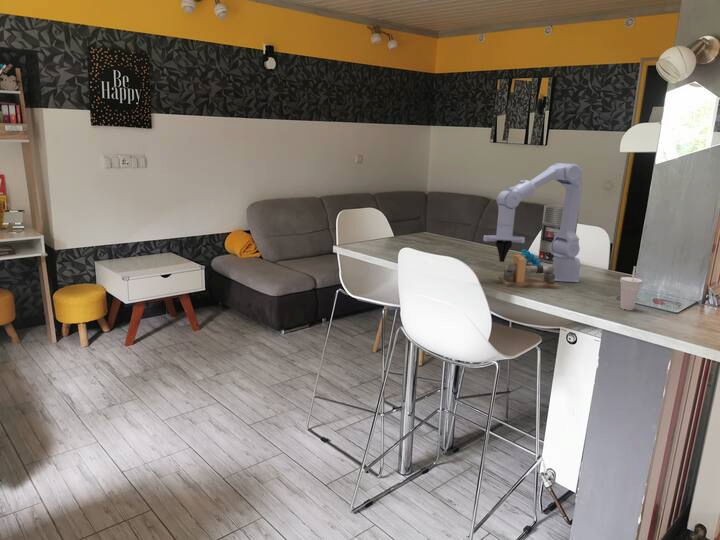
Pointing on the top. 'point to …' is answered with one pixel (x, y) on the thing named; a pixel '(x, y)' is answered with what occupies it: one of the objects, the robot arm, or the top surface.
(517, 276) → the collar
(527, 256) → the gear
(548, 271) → the pipe rig
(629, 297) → the smoothie
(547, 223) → the grey boxy piece
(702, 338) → the top surface
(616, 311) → the top surface
